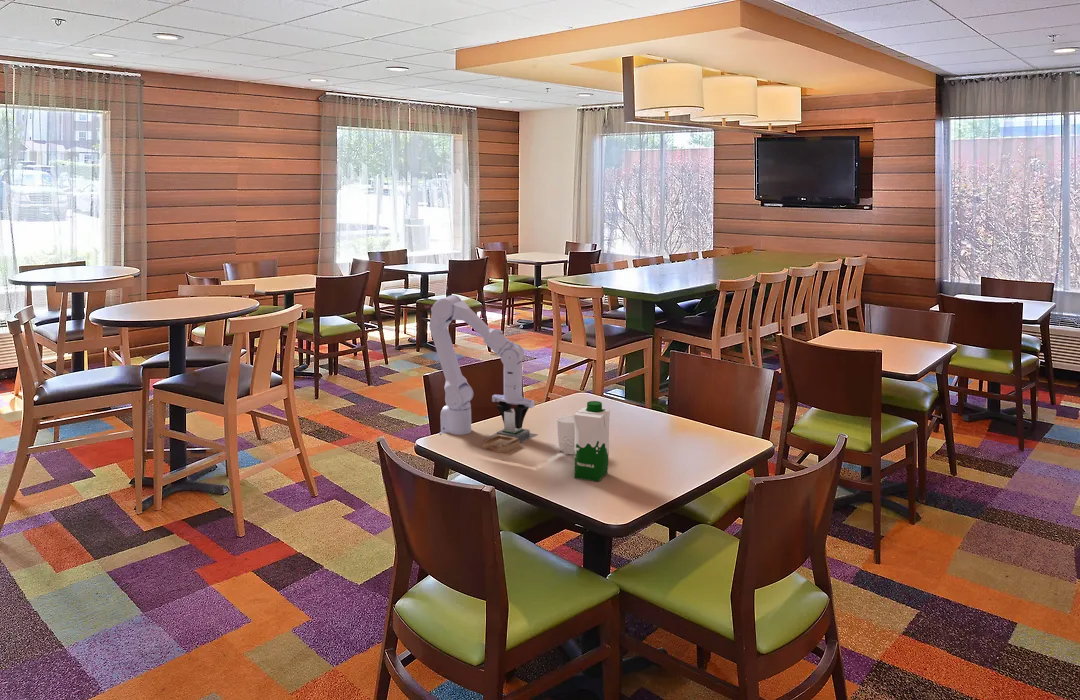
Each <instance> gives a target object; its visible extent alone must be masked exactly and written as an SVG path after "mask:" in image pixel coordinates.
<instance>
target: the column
mask: <svg viewBox="0 0 1080 700" xmlns="http://www.w3.org/2000/svg"><path fill="white" fill-rule="evenodd" d="M503 426H504V427H503V429H504V433H510V434H515V435H516V434H518V433H520V432H522V431H523V429H524V428H523V426H522V427H521V428H519V429H517V427H516V415H515V411H514V408H511V409H509V410H507V411H504V422H503Z"/></svg>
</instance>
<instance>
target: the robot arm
mask: <svg viewBox="0 0 1080 700" xmlns="http://www.w3.org/2000/svg"><path fill="white" fill-rule="evenodd" d="M430 311H431V312H430V313H431V314H430V315H431V316H430V321H429V331H430V334H431V336H432V339H433V344H434V346H435V350H436V353H437V356H438V360H439V363H440V366H441V370H442V373H443V375H444V379H445V381H444V382H445V383H444V387H443V388H444V392H445V393H444V395H445V396H444V401H445V405H444V406H443V407H442V409H441V411H440V416H439V417H440V432H439V435H443V434H446V433H449V434H451V435H456V436H461V435H462V436H463V435H469V434H470V433H471V432H472V404H471V401H472V400H473V397H474V390H473V387H472V386H471V385H470V384H469V383H468V379H467V378H466V377H465V376H464V375H463V374H462V371H461V367H460V364H459V361H458V357H457V355H456V351H455V348H454V344H453V342H452V338H451V334H450V331H449V329H448V328H449V326H450V324H451V323H452V321H453V320H454V321H463V322H465V323H466V324H467V325H469V327H471V328H472V329H474V331H475V332H477V333H478V334H480V335H481V336H482V338H483V343H485V345H486V346H487V347H489V348H490V349H491V350H492V351H493V352H494V353H495V354H496V355H498V357H500V361H501V363H502V365H503V394H493V395H492V396H491V402H493V403H495V402H497V403H498V404H497V405H496V409H498V411H499V413H500V416H501V419H502V422H503V423H504V411H507V410H509V409H512V405H514V406H515V407H513V409H514V411H515V415H516V427H517V429H519V428H521V427H522V428H523V424H524V420H525V416H526V414H527V412H528V410H529V409H532V408H534V407H535V400H532V399H529V398H526V397H523V368H522V367H523V366H522V365H523V362H522V361H523V359H524V357H525V351H524V349H523V347H521V345H520V344H518V343H515V341H511V340H510V339H509V338H508V337H507V336H505V335H504V334H503V333H504V331H502V329H497V328H491V327H490V326H489V325H488V324H487V323H486V322H485V321H484V320H482V318H481V317H480V316H479V315H478V314H476V313H475V311H473V309H471V307H470V306H469V305H468V304H467V302H466V301H464V300H462V299H461V298H460V297H459V296H458V295H456V294H451V295H447V296H446V297H443V298H439V299H437V300H436V301H435V302H434V303H433V305H432V306H431V308H430Z"/></svg>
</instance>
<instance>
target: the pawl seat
mask: <svg viewBox="0 0 1080 700" xmlns="http://www.w3.org/2000/svg"><path fill="white" fill-rule="evenodd" d="M520 444H521V443H520V441H519V438H515V437H510V436H505V435H500V434H497V435H495V436H493V437H488V438H486V439H484V440H483V442H482V449H484V450H488V451H494V452H496V453H497V452H498V453H503V454H506V453H508V452H510V451H512V450H514V449H516V448H518V447H520V446H521V445H520Z"/></svg>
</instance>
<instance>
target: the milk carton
mask: <svg viewBox="0 0 1080 700" xmlns="http://www.w3.org/2000/svg"><path fill="white" fill-rule="evenodd" d="M610 413H611V410H609V409H608V410H607V409H605V408H603V403H602V402H601V401H598V400H597V401H596V400H591V401H590V400H589V401H587V403H586V406H585V407H582V408H580V409H578V410H577V411H576V412H575V413H574V414H573V415H574V423H575V454H574V479H578V478H579V479H580V480H585V479H586V481H591V480H593V481H592V482H598V481H599V482H600V481H601V480H602V479H604V477H605V476H607V474H608V470H609V468H608V467H609V455H610V454H609V452H610V451H609V449H610V448H609V447H610Z"/></svg>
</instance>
